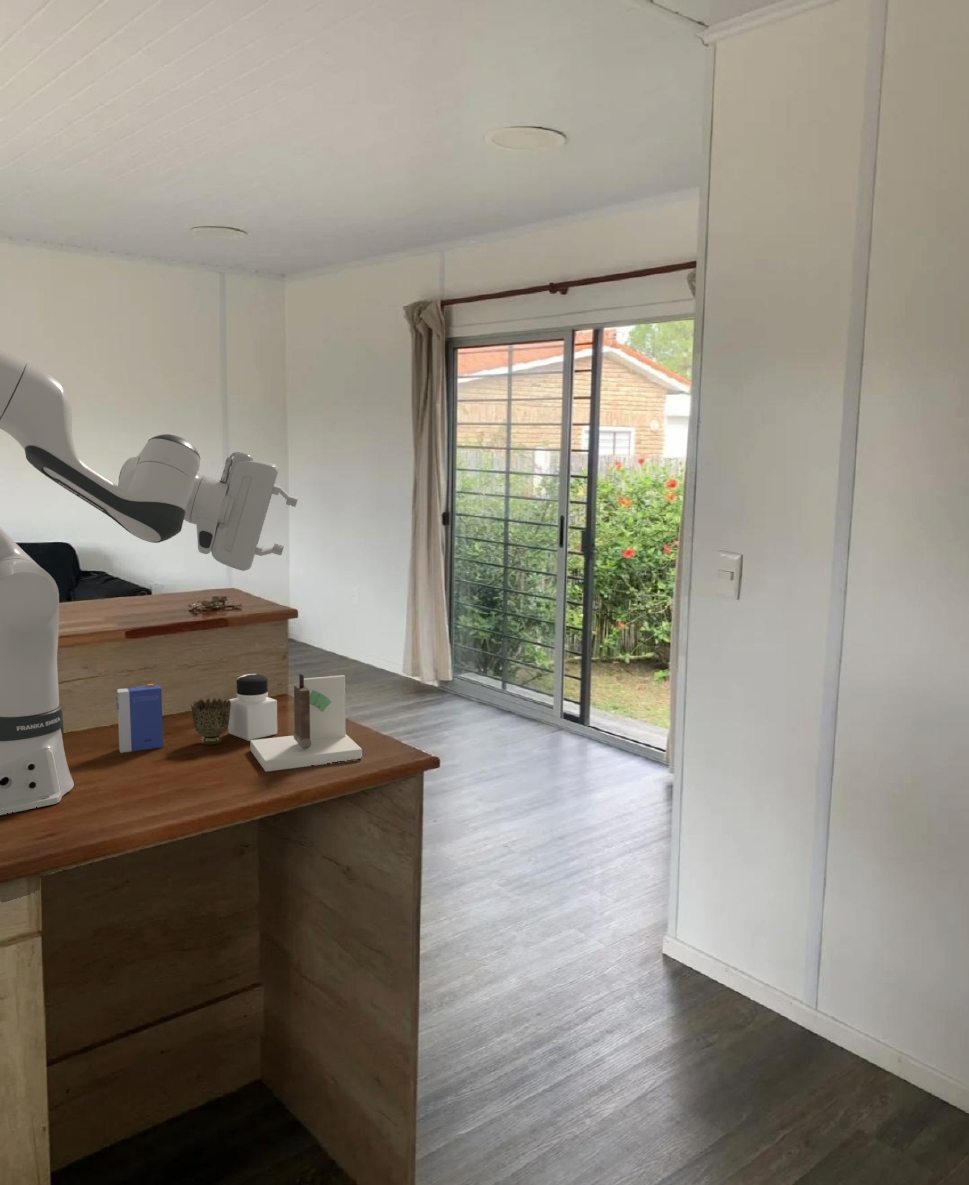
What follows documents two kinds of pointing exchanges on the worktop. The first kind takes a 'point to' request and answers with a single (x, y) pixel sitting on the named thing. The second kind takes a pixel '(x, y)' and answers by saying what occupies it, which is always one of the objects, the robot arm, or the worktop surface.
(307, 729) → the lever
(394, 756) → the worktop surface
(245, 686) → the medicine bottle
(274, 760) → the stand
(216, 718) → the cup
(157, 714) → the walkman
